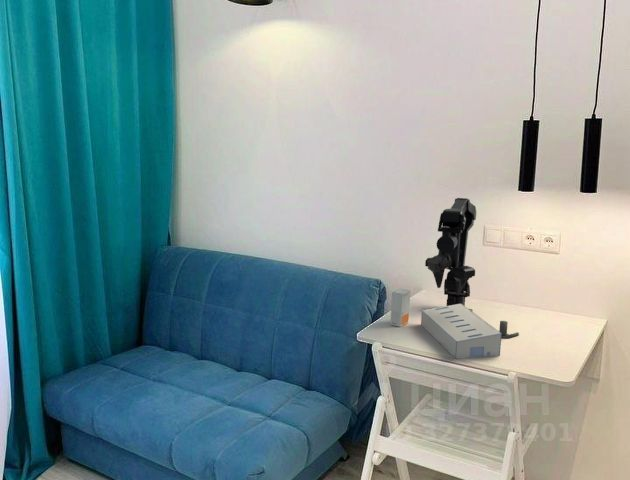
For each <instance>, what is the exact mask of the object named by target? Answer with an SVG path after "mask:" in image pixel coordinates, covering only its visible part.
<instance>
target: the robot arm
mask: <svg viewBox="0 0 630 480" xmlns="http://www.w3.org/2000/svg"><path fill="white" fill-rule="evenodd" d="M476 218H477V208H476V206H475V205H474V204H473V202H472V203H471V200H470V199H469V198H468V197H467V198H464V197H456V198H455V199H454V203H453V204H452V205H451V207H450V208H445V209H444V210H442V212H441V213H440V217H439V222H438V227H437V232H440V233H441V236H440V237H439V238H438V239H437V242H436V248H437V250H438V254H437V255H434V256H433V257H427V258H426V260H425V261H424V262H425V263H424V266H425V267H427V269H428V270H429V271H431V272H432V274H433V277H434V280H435V284H436V286H437V287H436V288H437V289H440V288H441V287H442V284H443V294H444V296H445V295H446V297H447V298H446V304H445V306H449V305H455V304H463V305H464V306H465V307H466V305H465V304H466V298H468V297H470V296H471V286H470V283H469V280H470V279H472V278H473V277H475V276H476V269H475V268H474V267H472V266H468V265H466V256H467V253H466V252H467V246H468V238H469V236H468V235H469V231H471V229H472V228H473V226H474V223H475V221H476ZM446 270H449V271H448V272H447V274H446V278H445V279H444V275H445V271H446ZM443 279H444V280H443ZM443 281H444V283H443Z"/></svg>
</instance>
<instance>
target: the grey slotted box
mask: <svg viewBox="0 0 630 480" xmlns="http://www.w3.org/2000/svg"><path fill="white" fill-rule="evenodd" d="M469 309H470V308H468V307H467V306H466V305H465V306H464V305H463V304H455V305H449V306H446V305H445V306H439V307H438V306H437V307H432V308H429V309H423V310H421V319H420V321H421V322H420V325H421V326H422V327H423V328H424V329H425V330H426V331H427V332H428V333H429V334H430V335H431V336H432V337H434V338H435V340H436V341H437V342H439V343H440V345H442V347H444V348H445V349H446V350H447V351H448V352H449V354H451V355H452V356H453V357H454V358H455V359H463V358H466V359H467V358H474V357H475V358H476V357H478V358H479V357H482V358H483V357H496V356H497V357H499V356H500V355H501V345H502V338H501V336H502V333H501V332H499V330H498V329H497V328H495V327H494V326H493V325H492V324H490V323H488V322H487V321H485V320H484V319H483V318H482V317H480V316H478V314H476V313H475V312H472V311H471V310H469Z"/></svg>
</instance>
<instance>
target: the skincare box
mask: <svg viewBox="0 0 630 480" xmlns="http://www.w3.org/2000/svg"><path fill="white" fill-rule="evenodd" d="M410 302H411V289H410V290H409V289H406V288H401V287H400V288H398V289H395V290H394V291H391V305H390V306H391V307H390V325H391V326H395V327H399V328H400V327H403V326H405V325H406V324H409V319H410V318H409V317H410Z"/></svg>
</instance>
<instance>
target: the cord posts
mask: <svg viewBox="0 0 630 480" xmlns="http://www.w3.org/2000/svg"><path fill="white" fill-rule="evenodd" d="M468 309H469V310H471V311H472V312H473V309H472V308H468ZM473 313H474V312H473ZM508 324H509V322H508V321H506V320H499V330H498V331H499V332H501V333H502V336H501V339H510V338H514V337H517V336H519V335H520V332H518V331H517V332H514V333H510V334H509V333H508Z"/></svg>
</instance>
